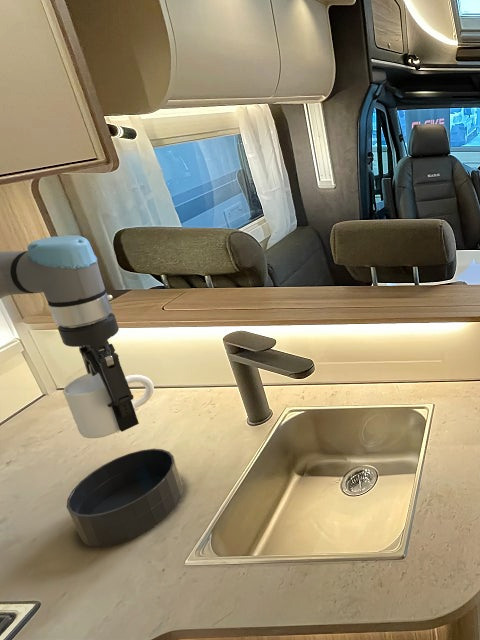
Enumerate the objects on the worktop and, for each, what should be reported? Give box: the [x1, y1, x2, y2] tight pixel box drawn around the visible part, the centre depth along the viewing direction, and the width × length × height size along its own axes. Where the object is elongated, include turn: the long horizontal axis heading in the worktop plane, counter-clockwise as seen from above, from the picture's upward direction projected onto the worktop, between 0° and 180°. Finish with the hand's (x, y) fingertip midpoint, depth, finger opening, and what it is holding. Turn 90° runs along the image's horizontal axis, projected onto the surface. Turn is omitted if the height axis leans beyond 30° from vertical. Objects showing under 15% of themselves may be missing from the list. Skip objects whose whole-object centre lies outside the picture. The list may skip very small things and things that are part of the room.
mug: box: [62, 373, 155, 439], centre depth 82 cm, size 12×8×10 cm
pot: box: [66, 448, 184, 548], centre depth 84 cm, size 16×16×8 cm
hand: (121, 417), depth 84 cm, fingers closed on mug, 8 cm apart
